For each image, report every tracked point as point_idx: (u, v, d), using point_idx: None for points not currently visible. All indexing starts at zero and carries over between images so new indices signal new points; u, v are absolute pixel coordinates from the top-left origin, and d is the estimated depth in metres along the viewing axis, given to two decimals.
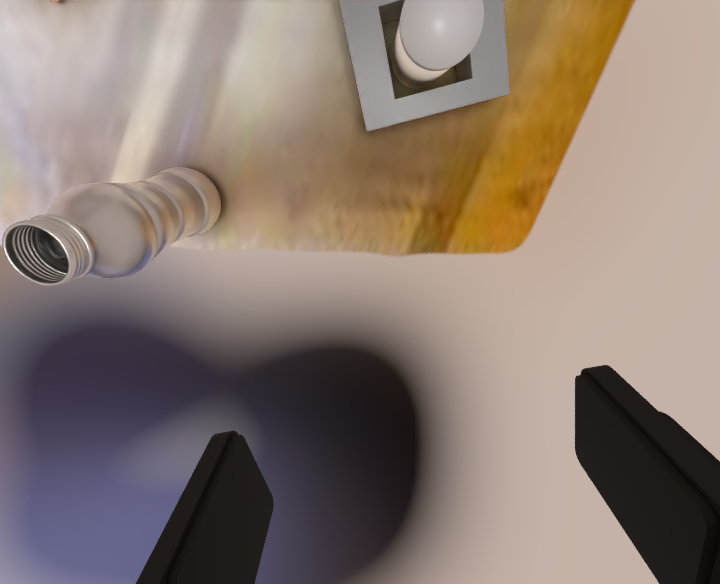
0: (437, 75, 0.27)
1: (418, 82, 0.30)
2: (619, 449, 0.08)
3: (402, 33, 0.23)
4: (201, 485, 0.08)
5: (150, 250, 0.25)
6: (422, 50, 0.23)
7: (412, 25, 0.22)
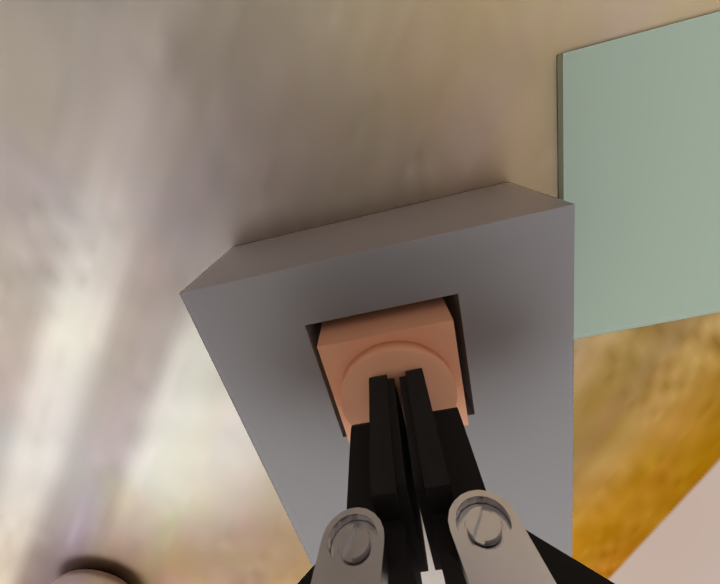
0: None
1: None
2: None
3: None
4: (384, 414, 0.09)
5: None
6: None
7: None
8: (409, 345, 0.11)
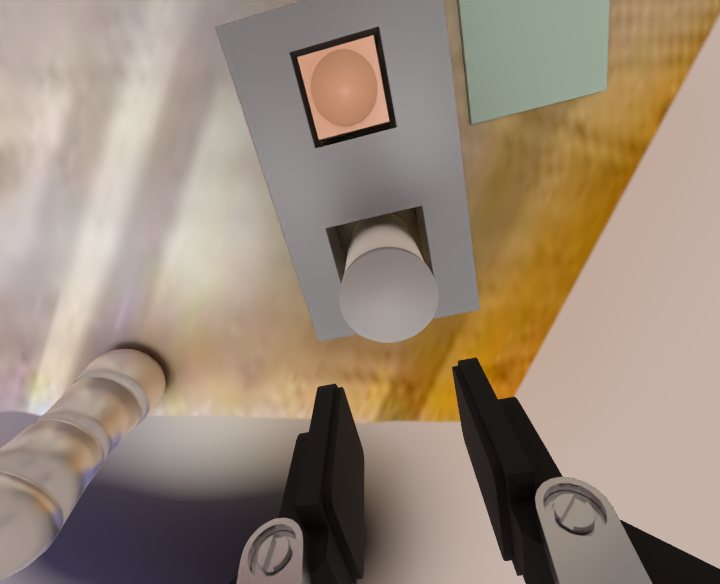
0: None
1: None
2: (470, 427, 0.09)
3: (342, 310, 0.19)
4: (324, 425, 0.09)
5: (50, 538, 0.21)
6: (367, 326, 0.19)
7: (353, 304, 0.19)
8: None
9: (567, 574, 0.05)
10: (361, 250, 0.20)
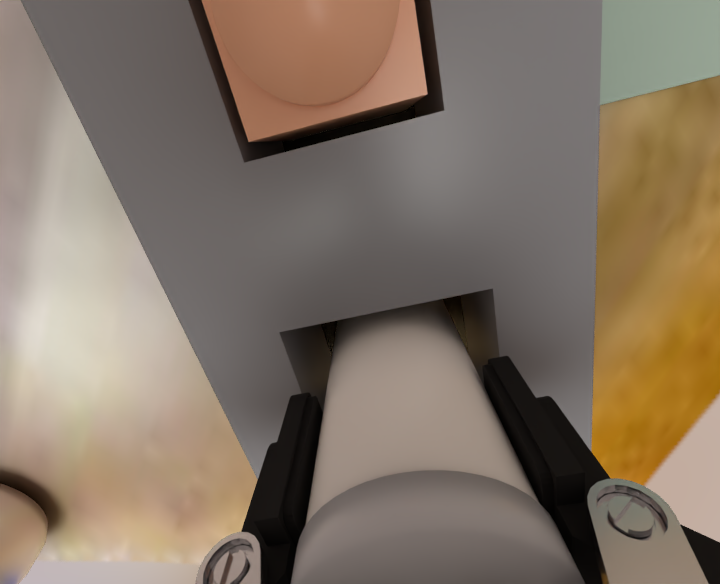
0: None
1: None
2: (505, 427, 0.09)
3: None
4: (293, 435, 0.09)
5: None
6: None
7: None
8: None
9: (617, 574, 0.05)
10: (354, 439, 0.07)
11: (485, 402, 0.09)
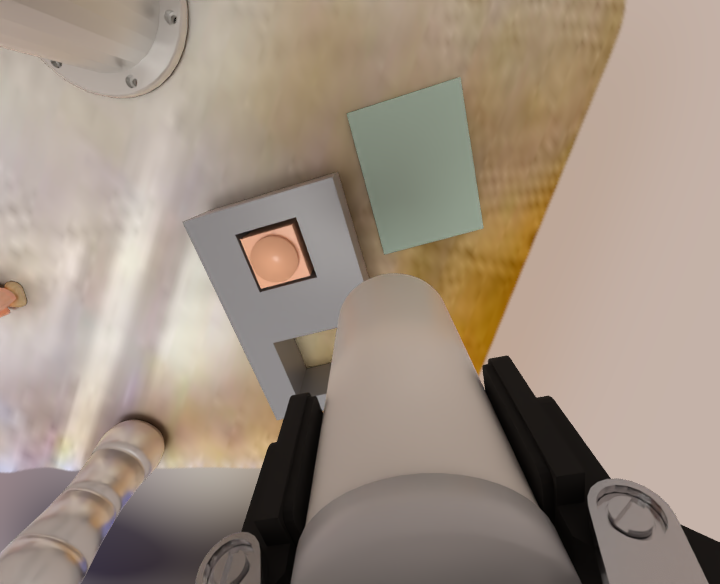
0: None
1: None
2: (505, 427, 0.09)
3: None
4: (293, 435, 0.09)
5: (79, 582, 0.29)
6: None
7: None
8: (275, 236, 0.27)
9: (618, 574, 0.05)
10: (354, 441, 0.07)
11: (485, 404, 0.09)
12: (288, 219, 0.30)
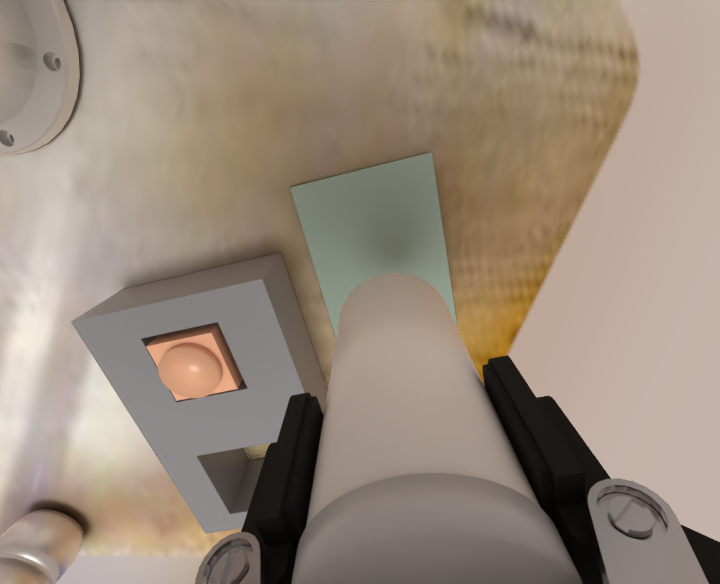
0: None
1: None
2: (506, 427, 0.09)
3: None
4: (292, 435, 0.09)
5: None
6: None
7: None
8: (190, 345, 0.21)
9: (618, 574, 0.05)
10: (355, 441, 0.07)
11: (486, 404, 0.09)
12: None
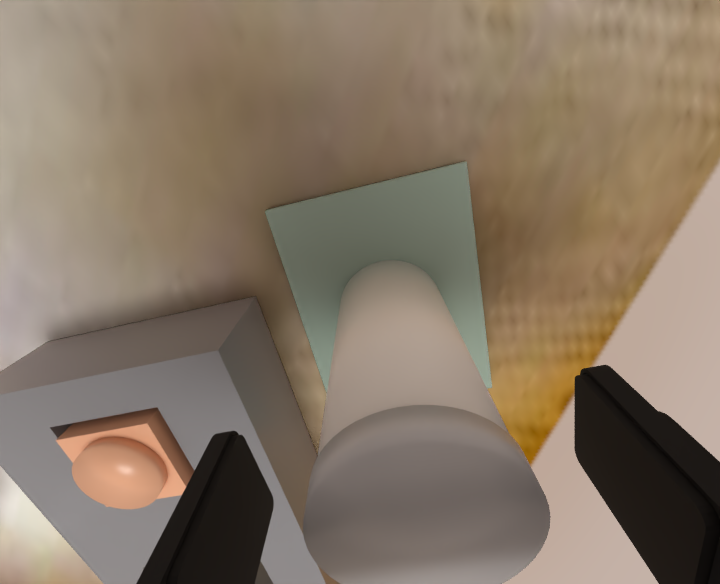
0: None
1: None
2: (618, 449, 0.08)
3: (311, 549, 0.08)
4: (201, 485, 0.08)
5: None
6: (370, 577, 0.08)
7: (338, 540, 0.08)
8: (117, 441, 0.14)
9: None
10: (358, 389, 0.09)
11: (470, 364, 0.10)
12: None
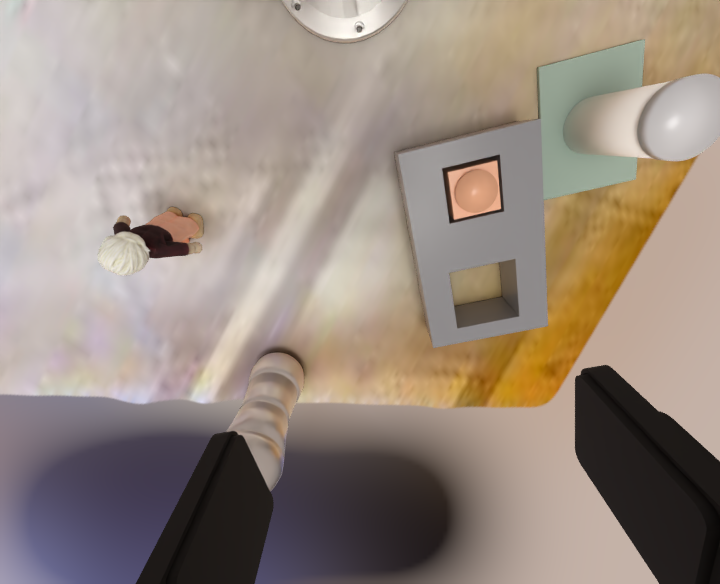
0: None
1: None
2: (619, 449, 0.08)
3: (648, 130, 0.24)
4: (201, 485, 0.08)
5: (280, 475, 0.33)
6: (664, 145, 0.24)
7: (660, 123, 0.24)
8: (481, 169, 0.30)
9: None
10: (652, 88, 0.25)
11: None
12: (474, 161, 0.33)
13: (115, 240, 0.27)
